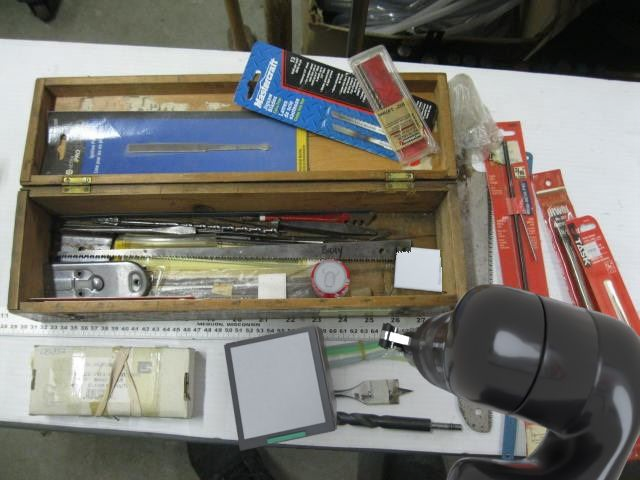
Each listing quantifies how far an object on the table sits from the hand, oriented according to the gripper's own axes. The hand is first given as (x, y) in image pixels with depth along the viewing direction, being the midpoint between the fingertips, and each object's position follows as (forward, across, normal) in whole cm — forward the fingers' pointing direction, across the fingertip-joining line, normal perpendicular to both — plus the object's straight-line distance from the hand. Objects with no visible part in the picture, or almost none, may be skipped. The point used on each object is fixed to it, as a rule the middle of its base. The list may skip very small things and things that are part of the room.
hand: (425, 348), depth 58 cm
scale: (+4, -17, -10) cm, 20 cm away
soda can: (+30, -15, +8) cm, 34 cm away
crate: (+29, -17, -10) cm, 35 cm away
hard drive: (+30, +3, +16) cm, 34 cm away
